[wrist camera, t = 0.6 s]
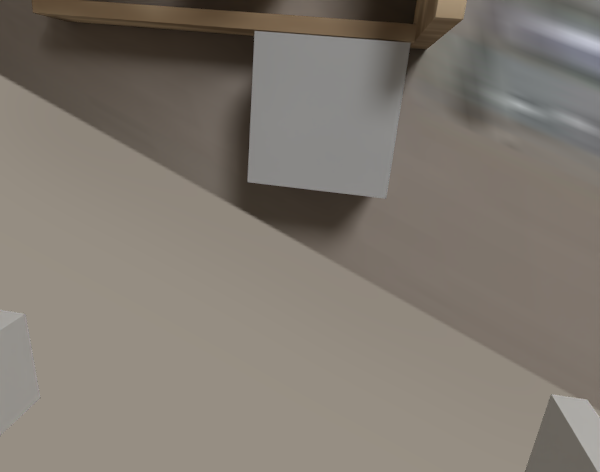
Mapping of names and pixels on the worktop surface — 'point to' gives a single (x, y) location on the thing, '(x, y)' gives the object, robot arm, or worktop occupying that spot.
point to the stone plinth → (325, 112)
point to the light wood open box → (261, 20)
